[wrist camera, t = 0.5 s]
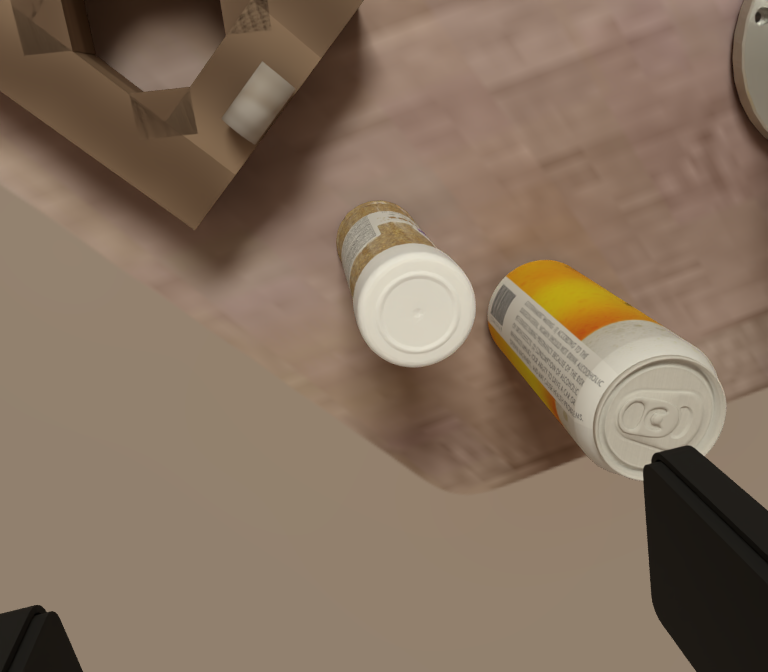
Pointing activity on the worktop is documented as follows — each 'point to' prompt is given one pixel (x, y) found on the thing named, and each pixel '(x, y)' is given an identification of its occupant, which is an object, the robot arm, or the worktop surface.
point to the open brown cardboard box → (167, 92)
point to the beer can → (605, 368)
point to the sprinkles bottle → (403, 287)
